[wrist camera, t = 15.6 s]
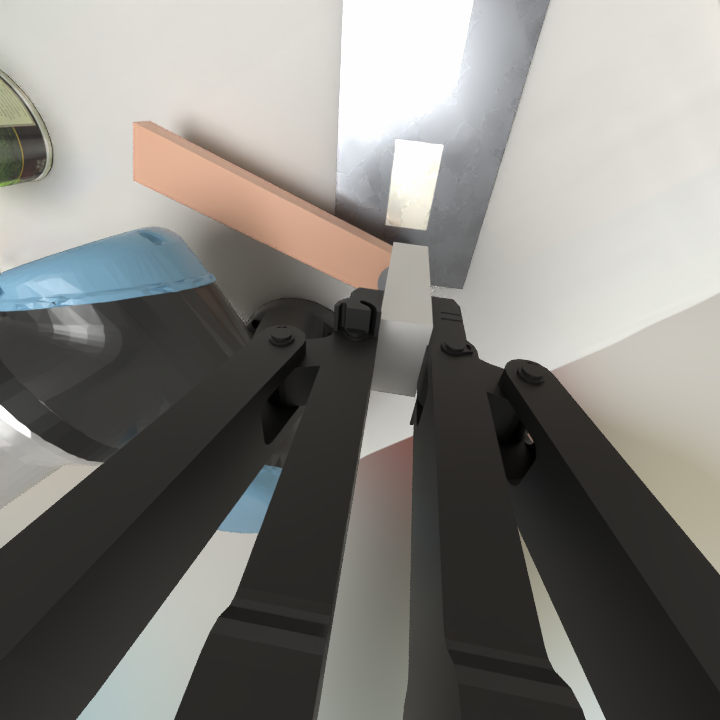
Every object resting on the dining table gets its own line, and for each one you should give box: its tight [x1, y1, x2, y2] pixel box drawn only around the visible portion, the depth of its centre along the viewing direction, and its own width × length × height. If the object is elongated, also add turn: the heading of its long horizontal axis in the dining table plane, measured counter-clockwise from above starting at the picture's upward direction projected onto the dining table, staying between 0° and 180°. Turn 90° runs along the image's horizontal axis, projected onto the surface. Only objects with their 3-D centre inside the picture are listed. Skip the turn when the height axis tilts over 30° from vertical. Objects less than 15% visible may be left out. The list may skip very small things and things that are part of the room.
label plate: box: [335, 0, 550, 289], centre depth 27 cm, size 26×14×4 cm, turn 175°
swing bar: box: [133, 121, 393, 291], centre depth 30 cm, size 26×4×3 cm, turn 66°
